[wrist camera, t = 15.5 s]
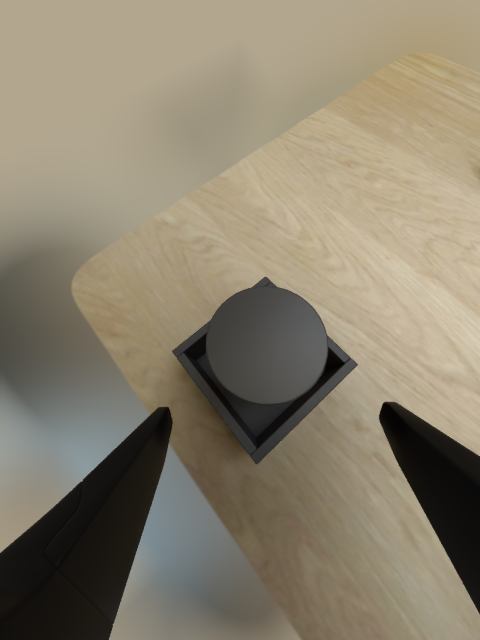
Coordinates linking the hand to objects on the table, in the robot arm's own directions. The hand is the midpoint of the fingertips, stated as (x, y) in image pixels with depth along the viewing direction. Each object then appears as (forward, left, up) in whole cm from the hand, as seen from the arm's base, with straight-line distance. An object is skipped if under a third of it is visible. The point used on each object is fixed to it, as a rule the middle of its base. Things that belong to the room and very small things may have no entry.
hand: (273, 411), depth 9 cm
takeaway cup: (+3, +1, -12) cm, 12 cm away
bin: (+3, +1, -12) cm, 13 cm away
